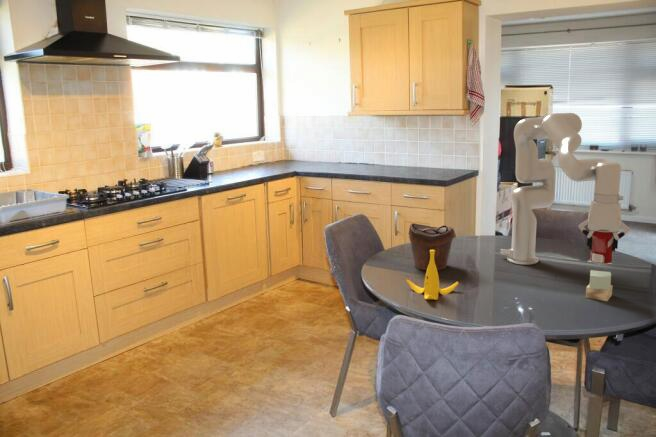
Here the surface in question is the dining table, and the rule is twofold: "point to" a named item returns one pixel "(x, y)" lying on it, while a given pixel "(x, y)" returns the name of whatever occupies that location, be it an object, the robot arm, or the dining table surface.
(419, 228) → the brown flower pot
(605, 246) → the soda can
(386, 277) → the dining table surface
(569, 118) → the robot arm
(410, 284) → the banana peel
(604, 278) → the sage block
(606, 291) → the oak base block
